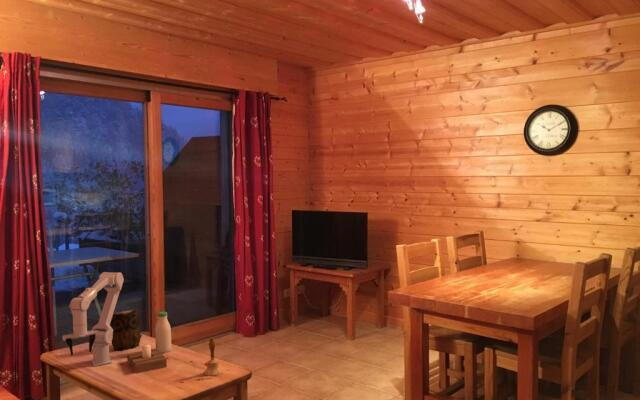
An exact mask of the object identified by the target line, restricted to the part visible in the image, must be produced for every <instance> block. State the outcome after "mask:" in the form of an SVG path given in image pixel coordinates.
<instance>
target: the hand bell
mask: <svg viewBox="0 0 640 400" xmlns="http://www.w3.org/2000/svg"><path fill="white" fill-rule="evenodd" d="M208 348H209V351H210V359H209V360H208V361H207V364H206V366H207V367H206V369H205V370H204V372H203V374H204V376H208V377H215V376H218V375H221V374H222V373H223V370H222V368H221V367H220V366H219V361H218V359H216V358H215V349H216V343H215V340H214V337H210V338H209V344H208Z"/></svg>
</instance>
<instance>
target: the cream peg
mask: <svg viewBox="0 0 640 400" xmlns="http://www.w3.org/2000/svg"><path fill="white" fill-rule="evenodd" d="M151 349H152V346H151V344H143V345H141V351H142V359H144V358H149V357H151Z"/></svg>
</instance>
